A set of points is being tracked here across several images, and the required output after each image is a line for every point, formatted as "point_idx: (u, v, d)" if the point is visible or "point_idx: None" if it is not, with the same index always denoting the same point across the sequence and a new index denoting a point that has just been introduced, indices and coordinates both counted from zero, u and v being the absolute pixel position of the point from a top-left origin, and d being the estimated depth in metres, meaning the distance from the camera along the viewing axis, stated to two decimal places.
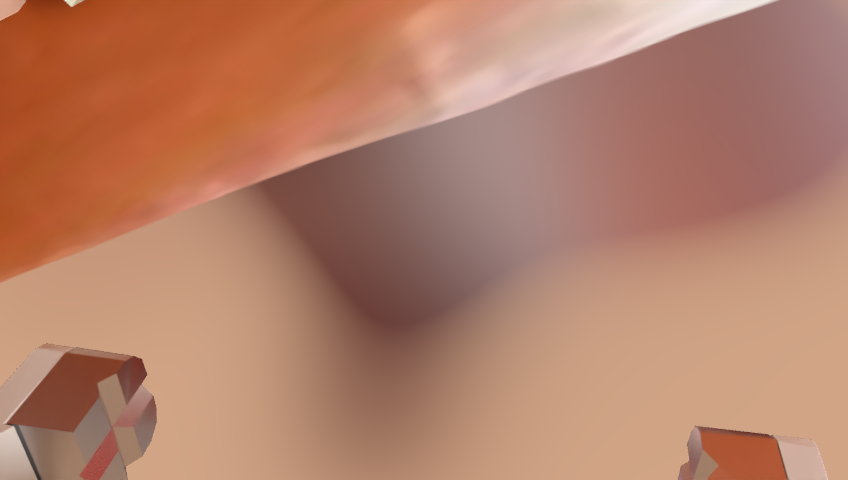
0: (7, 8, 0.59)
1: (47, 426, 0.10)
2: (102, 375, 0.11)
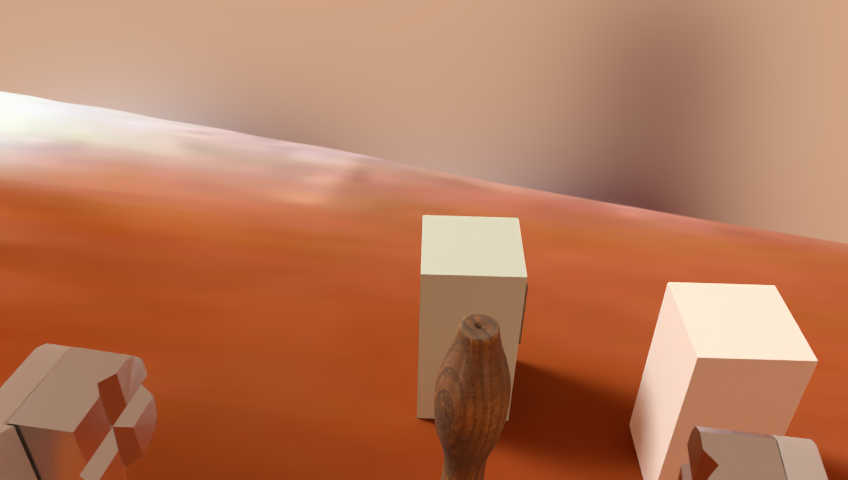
0: None
1: (47, 426, 0.10)
2: (102, 375, 0.11)
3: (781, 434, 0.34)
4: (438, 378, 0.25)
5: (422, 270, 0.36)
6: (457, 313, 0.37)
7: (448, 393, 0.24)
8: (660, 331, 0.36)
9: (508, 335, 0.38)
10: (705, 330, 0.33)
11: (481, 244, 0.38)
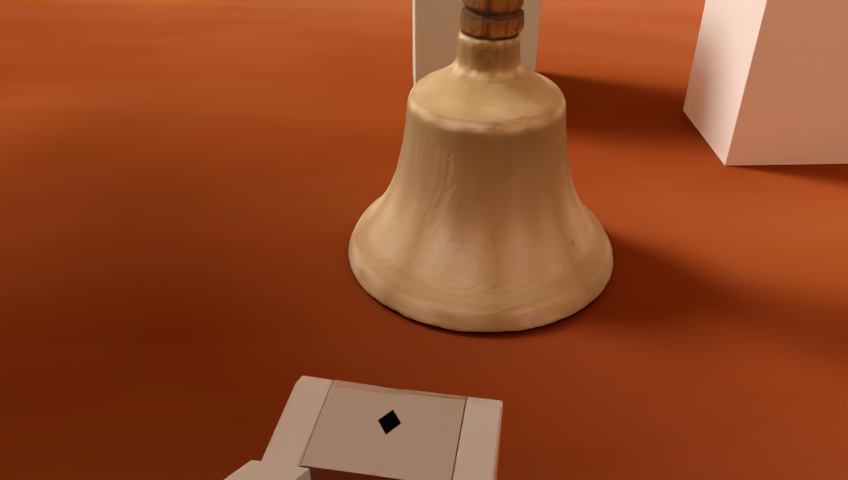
0: None
1: (341, 468, 0.09)
2: (378, 411, 0.10)
3: None
4: None
5: None
6: None
7: None
8: None
9: None
10: None
11: None
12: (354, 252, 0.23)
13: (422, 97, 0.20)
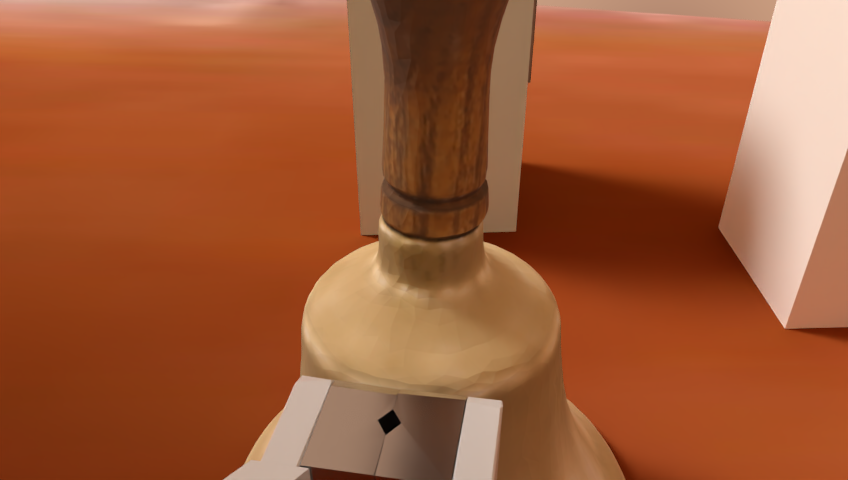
0: None
1: (340, 468, 0.09)
2: (378, 411, 0.10)
3: None
4: None
5: None
6: None
7: None
8: (789, 1, 0.20)
9: (510, 42, 0.21)
10: None
11: None
12: None
13: (320, 320, 0.12)
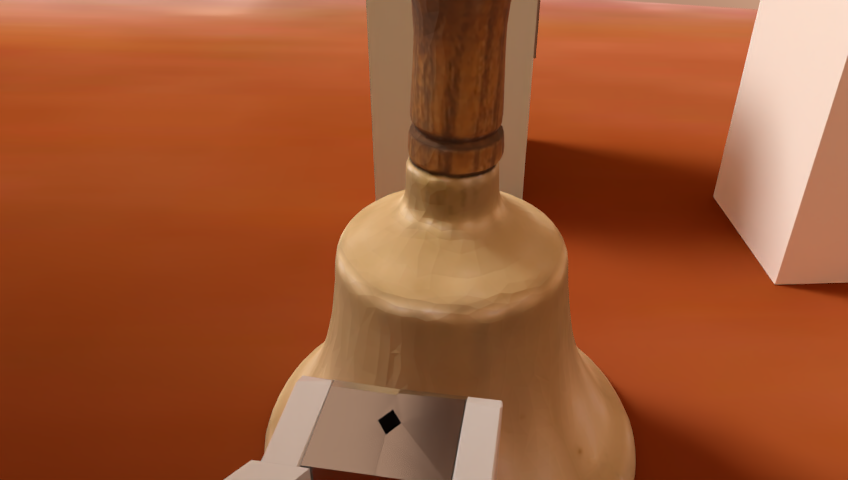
0: None
1: (341, 468, 0.09)
2: (378, 411, 0.10)
3: None
4: None
5: None
6: None
7: None
8: None
9: (517, 18, 0.22)
10: None
11: None
12: None
13: (353, 253, 0.14)
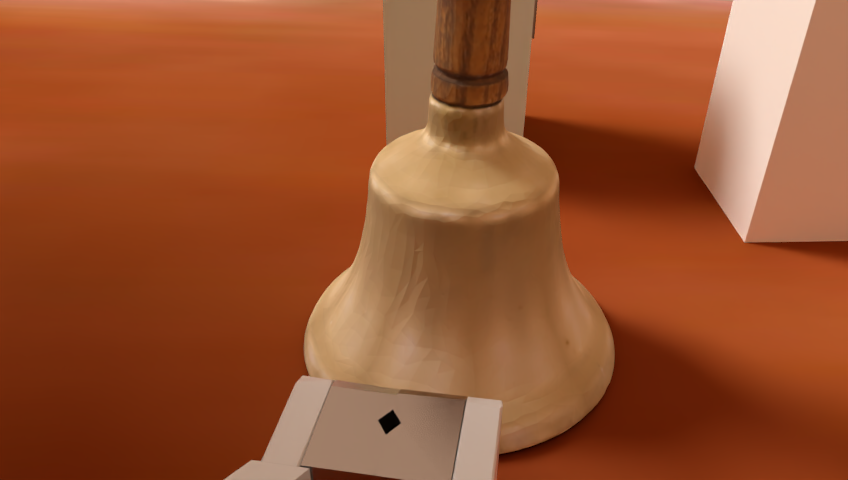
0: None
1: (341, 468, 0.09)
2: (379, 411, 0.10)
3: None
4: None
5: None
6: None
7: None
8: None
9: (517, 1, 0.25)
10: None
11: None
12: (309, 345, 0.20)
13: (385, 172, 0.17)
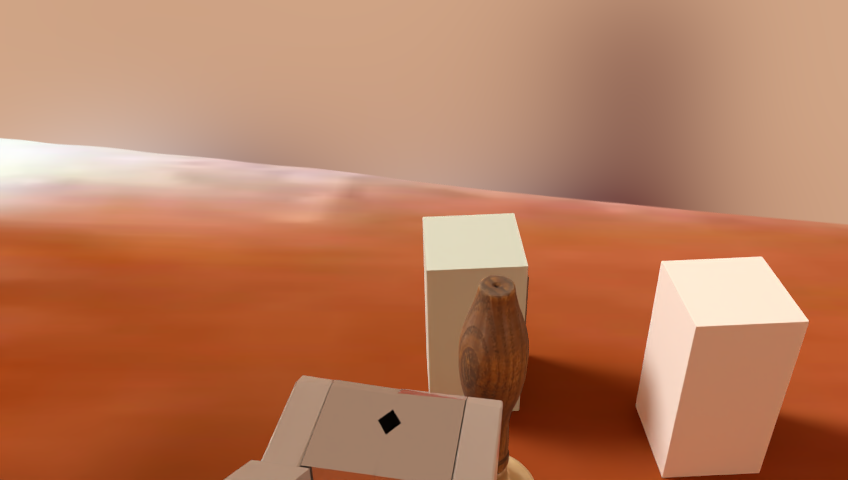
0: None
1: (341, 468, 0.09)
2: (378, 411, 0.10)
3: (781, 396, 0.36)
4: (462, 338, 0.27)
5: (427, 267, 0.37)
6: (463, 306, 0.38)
7: (472, 350, 0.27)
8: (658, 309, 0.38)
9: None
10: (701, 301, 0.34)
11: (481, 239, 0.39)
12: None
13: None
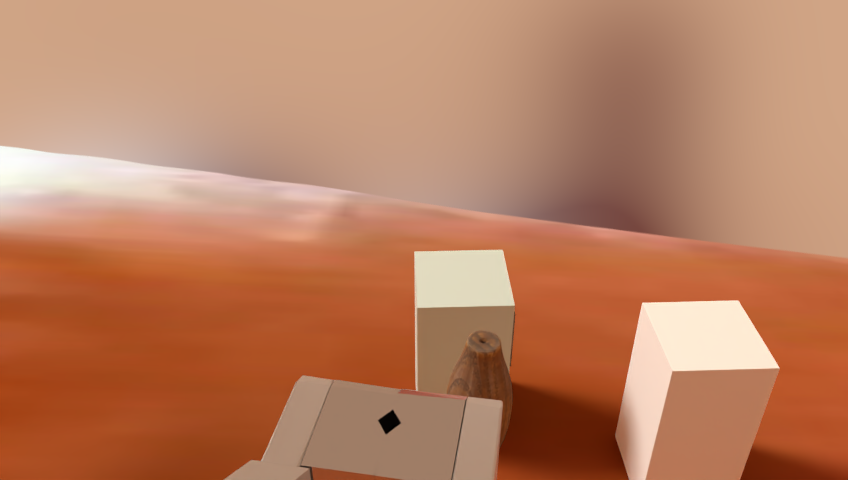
0: None
1: (341, 468, 0.09)
2: (378, 411, 0.10)
3: (752, 436, 0.37)
4: (449, 389, 0.29)
5: (418, 304, 0.39)
6: (452, 341, 0.40)
7: None
8: (638, 348, 0.40)
9: None
10: (678, 345, 0.36)
11: (470, 276, 0.41)
12: None
13: None
